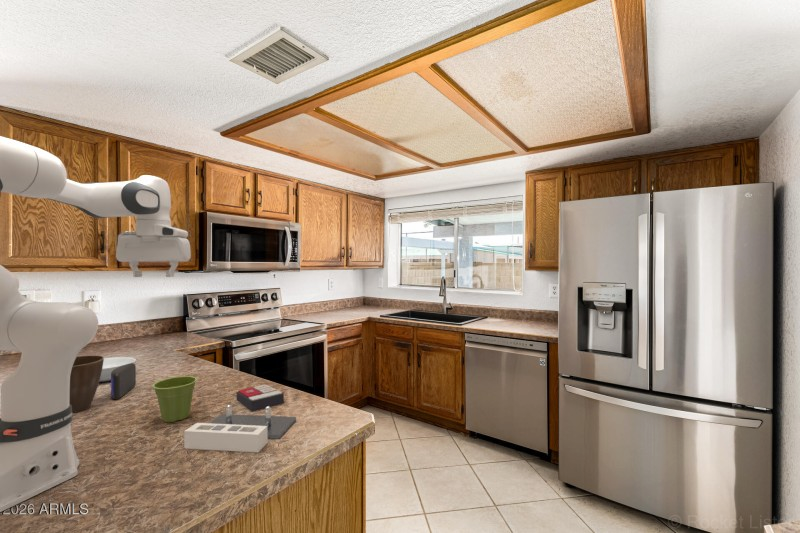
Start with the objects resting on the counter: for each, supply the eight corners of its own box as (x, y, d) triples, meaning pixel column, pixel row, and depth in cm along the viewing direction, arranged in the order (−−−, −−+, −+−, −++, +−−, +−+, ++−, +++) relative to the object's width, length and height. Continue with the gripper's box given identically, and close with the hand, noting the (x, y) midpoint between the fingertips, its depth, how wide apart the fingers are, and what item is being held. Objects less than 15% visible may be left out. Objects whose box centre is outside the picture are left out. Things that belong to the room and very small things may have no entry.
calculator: (266, 383, 137) (284, 391, 126) (267, 394, 137) (284, 404, 126) (236, 389, 130) (251, 399, 119) (236, 402, 130) (251, 412, 119)
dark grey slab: (122, 387, 144) (122, 363, 144) (136, 385, 145) (136, 362, 145) (103, 401, 128) (103, 374, 128) (119, 400, 130) (119, 373, 130)
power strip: (258, 452, 93) (258, 433, 93) (184, 448, 95) (184, 430, 95) (267, 442, 98) (267, 425, 98) (197, 439, 100) (197, 422, 100)
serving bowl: (127, 383, 149) (127, 366, 149) (61, 390, 141) (61, 372, 141) (142, 369, 168) (142, 354, 168) (85, 374, 160) (84, 359, 160)
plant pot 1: (111, 407, 123) (111, 359, 123) (51, 422, 111) (51, 369, 111) (95, 398, 132) (94, 353, 132) (38, 411, 119) (37, 362, 119)
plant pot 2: (158, 413, 118) (157, 378, 118) (200, 408, 122) (199, 374, 122) (147, 429, 107) (147, 390, 107) (194, 422, 111) (193, 385, 111)
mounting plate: (278, 438, 100) (278, 415, 100) (196, 434, 103) (196, 412, 103) (296, 420, 112) (296, 399, 112) (221, 417, 115) (221, 396, 115)
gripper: (110, 230, 108) (110, 277, 108) (182, 230, 109) (182, 276, 109) (125, 232, 114) (125, 276, 114) (193, 232, 115) (193, 276, 115)
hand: (153, 276), depth 112 cm, fingers open, 8 cm apart
